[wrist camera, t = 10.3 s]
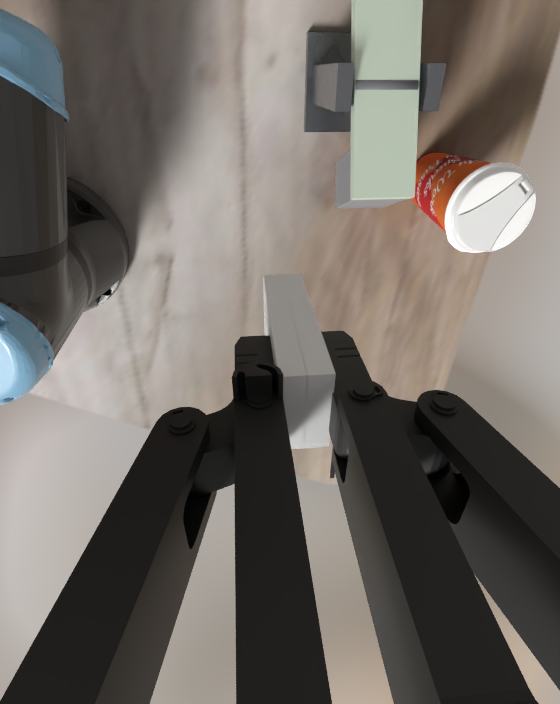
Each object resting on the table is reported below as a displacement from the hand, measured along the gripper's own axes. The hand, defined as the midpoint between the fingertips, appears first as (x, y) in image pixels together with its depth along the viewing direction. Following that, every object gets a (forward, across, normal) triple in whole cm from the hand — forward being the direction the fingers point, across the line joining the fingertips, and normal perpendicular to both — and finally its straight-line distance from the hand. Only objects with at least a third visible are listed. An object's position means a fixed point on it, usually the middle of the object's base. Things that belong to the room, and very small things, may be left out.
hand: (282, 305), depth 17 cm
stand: (+32, +10, +7) cm, 35 cm away
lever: (+28, +10, +7) cm, 31 cm away
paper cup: (+33, +20, -2) cm, 38 cm away
